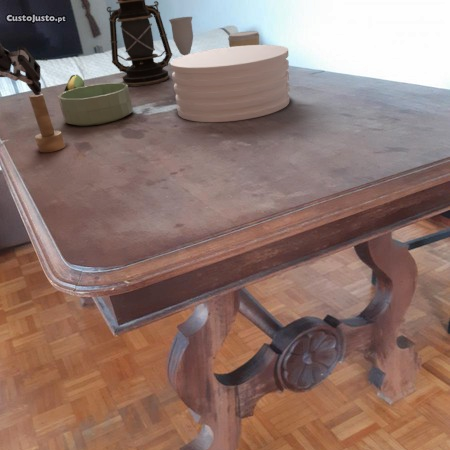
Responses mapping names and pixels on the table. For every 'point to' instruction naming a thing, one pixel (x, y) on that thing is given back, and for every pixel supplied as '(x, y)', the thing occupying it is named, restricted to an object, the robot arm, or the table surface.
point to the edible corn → (74, 82)
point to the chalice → (182, 34)
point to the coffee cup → (244, 38)
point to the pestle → (45, 127)
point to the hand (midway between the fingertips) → (16, 93)
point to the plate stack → (231, 83)
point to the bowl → (96, 104)
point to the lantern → (139, 42)
